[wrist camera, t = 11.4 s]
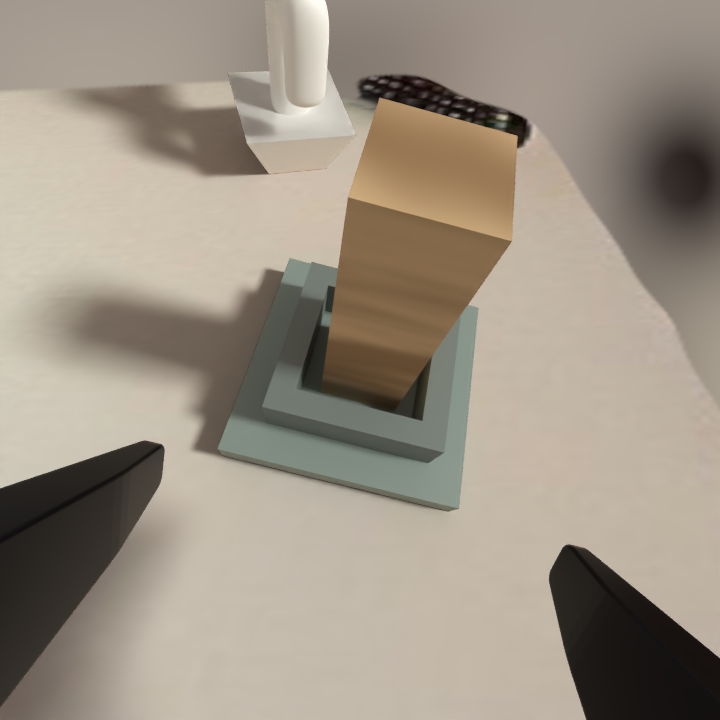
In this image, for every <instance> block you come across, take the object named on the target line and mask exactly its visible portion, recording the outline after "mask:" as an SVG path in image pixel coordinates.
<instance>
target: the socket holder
mask: <svg viewBox="0 0 720 720" xmlns="http://www.w3.org/2000/svg"><path fill="white" fill-rule="evenodd" d="M337 273H338V269H337V268H333V267H329V266H325V265H322V264H318V263H314V262H312V263H311V264H310V263H306V262H302V261H298V260H295V259H291V258H290V259H289V262H288V264H287V267H286V269H285V272H284V275H283V277H282V280H281V283H280V285H279V288H278V291H277V293H276V296H275V298H274V301H273V304H272V306H271V309H270V312H269V314H268V317H267V320H266V322H265V325H264V327H263V330H262V333H261V335H260V338H259V341H258V343H257V346H256V348H255V351H254V354H253V356H252V359H251V362H250V364H249V367H248V370H247V372H246V375H245V377H244V380H243V383H242V385H241V388H240V391H239V393H238V396H237V399H236V401H235V404H234V406H233V409H232V412H231V414H230V417H229V420H228V422H227V425H226V428H225V430H224V433H223V435H222V438H221V441H220V443H219V446H218V450H219V452H220V453H221V454H222V455H223V456H227V457H231V458H235V459H239V460H243V461H247V462H251V463H255V464H259V465H263V466H267V467H271V468H275V469H279V470H283V471H287V472H291V473H296V474H300V475H304V476H308V477H312V478H316V479H320V480H324V481H328V482H332V483H336V484H340V485H344V486H348V487H352V488H356V489H360V490H364V491H368V492H373V493H377V494H381V495H385V496H389V497H393V498H397V499H401V500H405V501H409V502H413V503H417V504H421V505H425V506H429V507H433V508H437V509H441V510H445V511H452V510H456V509H459V503H460V492H461V482H462V472H463V461H464V451H465V441H466V430H467V420H468V409H469V399H470V389H471V378H472V368H473V357H474V347H475V337H476V326H477V316H478V308H476V307H473V306H469V305H467V307H466V308H465V309H464V311H463V312H462V314H461V315H460V317H459V318H458V320H457V321H456V322H455V324H454V325H453V327H452V328H451V330H450V331H449V333H448V334H447V335H446V337H445V338H444V340H443V341H442V343H441V344H440V345H439V347H438V348H437V350H436V351H435V353H434V354H433V356H432V357H431V358H430V360H429V361H428V363H427V364H426V366H425V367H424V369H423V370H422V371H421V373H420V374H419V376H418V377H417V379H416V380H415V381H414V383H413V384H412V386H411V387H410V389H409V390H408V392H407V393H406V394H405V396H404V397H403V399H402V400H401V402H400V403H399V405H398V406H397V407H396V409H395V410H394V411H393V410H389V409H385V408H381V407H377V406H373V405H369V404H365V403H361V402H357V401H353V400H349V399H345V398H341V397H337V396H333V395H329V394H325V393H321V386H322V379H323V372H324V365H325V358H326V351H327V344H328V336H329V329H330V322H331V315H332V308H333V301H334V294H335V287H336V280H337Z"/></svg>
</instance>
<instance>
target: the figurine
mask: <svg viewBox="0 0 720 720" xmlns="http://www.w3.org/2000/svg"><path fill="white" fill-rule="evenodd" d="M265 8H266V25H267V40H268V41H267V42H268V58H269V71H263V72H234V73H228V77H229V81H230V84H231V88H232V91H233V95H234V99H235V102H236V106H237V110H238V113H239V117H240V120H241V124H242V128H243V131H244V135H245V138H246V142H247V144H248V146H249V147H250V149H251V150H252V151H253V153H254V154H255V155H256V157H257V158H258V160H259V161H260V162H261V164H262V165H263V166H264V168H265V169H266V171H267V172H268V173H269V174H276V173H286V172H296V171H307V170H317V169H327V167H328V166H329V165H330V164H331V163H332V162H333V161H334V160H335V159H336V157H337V156H338V155H339V154H340V153H341V152H342V151H343V150H344V149H345V147H346V146H347V145H348V144H349V143H350V142H351V141H352V140H353V139H354V137H355V136H356V133H355V131H354V128H353V126H352V124H351V121H350V119H349V117H348V115H347V112H346V110H345V108H344V105H343V103H342V101H341V98H340V96H339V94H338V91H337V89H336V87H335V84H334V82H333V80H332V77H331V75H330V73H329V71H328V69H327V60H328V45H329V20H328V11H327V6H326V2H325V0H265Z"/></svg>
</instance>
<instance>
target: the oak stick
mask: <svg viewBox="0 0 720 720" xmlns="http://www.w3.org/2000/svg"><path fill="white" fill-rule="evenodd" d="M516 153H517V136H516V135H512V134H508V133H505V132H501V131H498V130H494V129H490V128H487V127H483V126H480V125H476V124H472V123H469V122H465V121H462V120H458V119H454V118H451V117H447V116H444V115H440V114H436V113H433V112H429V111H425V110H422V109H418V108H415V107H411V106H407V105H404V104H400V103H397V102H393V101H389V100H386V99H382V98H380V99H379V102H378V105H377V108H376V112H375V115H374V118H373V121H372V124H371V127H370V130H369V133H368V137H367V140H366V143H365V146H364V149H363V152H362V155H361V159H360V162H359V165H358V168H357V171H356V174H355V177H354V180H353V184H352V187H351V190H350V193H349V196H348V202H347V209H346V216H345V223H344V230H343V237H342V244H341V251H340V258H339V266H338V273H337V280H336V287H335V294H334V301H333V308H332V315H331V322H330V329H329V336H328V344H327V351H326V358H325V365H324V372H323V379H322V386H321V393H325V394H329V395H333V396H337V397H341V398H345V399H349V400H353V401H357V402H361V403H365V404H369V405H373V406H377V407H381V408H385V409H389V410H393V411H394V410H395V409H396V407H397V406H398V405H399V403H400V402H401V400H402V399H403V397H404V396H405V394H406V393H407V392H408V390H409V389H410V387H411V386H412V384H413V383H414V381H415V380H416V379H417V377H418V376H419V374H420V373H421V371H422V370H423V369H424V367H425V366H426V364H427V363H428V361H429V360H430V358H431V357H432V356H433V354H434V353H435V351H436V350H437V348H438V347H439V345H440V344H441V343H442V341H443V340H444V338H445V337H446V335H447V334H448V333H449V331H450V330H451V328H452V327H453V325H454V324H455V322H456V321H457V320H458V318H459V317H460V315H461V314H462V312H463V311H464V309H465V308H466V307H467V305H468V304H469V302H470V301H471V299H472V298H473V297H474V295H475V294H476V292H477V291H478V289H479V288H480V286H481V285H482V284H483V282H484V281H485V279H486V278H487V276H488V275H489V273H490V272H491V271H492V269H493V268H494V266H495V265H496V263H497V262H498V260H499V259H500V258H501V256H502V255H503V253H504V252H505V250H506V249H507V248H508V246H509V245H510V243H511V242H512V229H513V210H514V191H515V172H516Z"/></svg>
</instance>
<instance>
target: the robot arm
mask: <svg viewBox="0 0 720 720" xmlns="http://www.w3.org/2000/svg"><path fill="white" fill-rule="evenodd" d="M164 451H165V450H164V447H163V445H162V444H158V443H154V442H150V441H141V442H138V443H135V444H132V445H129V446H126V447H123V448H120V449H117V450H114V451H111V452H108V453H105V454H102V455H99V456H96V457H93V458H90V459H87V460H84V461H81V462H78V463H75V464H72V465H69V466H66V467H63V468H60V469H57V470H54V471H51V472H48V473H45V474H42V475H39V476H36V477H33V478H30V479H27V480H24V481H21V482H18V483H15V484H12V485H9V486H6V487H3V488H0V707H1V706H2V705H3V703H4V702H5V701H6V699H7V698H8V697H9V695H10V694H11V693H12V691H13V690H14V689H15V688H16V686H17V685H18V684H19V682H20V681H21V680H22V678H23V677H24V676H25V674H26V673H27V672H28V670H29V669H30V668H31V667H32V665H33V664H34V663H35V661H36V660H37V659H38V657H39V656H40V655H41V653H42V652H43V651H44V649H45V648H46V647H47V646H48V644H49V643H50V642H51V640H52V639H53V638H54V636H55V635H56V634H57V632H58V631H59V630H60V628H61V627H62V626H63V625H64V623H65V622H66V621H67V619H68V618H69V617H70V615H71V614H72V613H73V611H74V610H75V609H76V607H77V606H78V605H79V604H80V602H81V601H82V600H83V598H84V597H85V596H86V594H87V593H88V592H89V590H90V589H91V588H92V586H93V585H94V584H95V583H96V581H97V580H98V579H99V577H100V576H101V575H102V573H103V572H104V571H105V569H106V568H107V567H108V565H109V564H110V563H111V561H112V560H113V559H114V557H115V556H116V555H117V553H118V552H119V550H120V549H121V547H122V546H123V544H124V542H125V541H126V539H127V538H128V536H129V534H130V533H131V531H132V529H133V528H134V526H135V525H136V523H137V521H138V520H139V518H140V516H141V515H142V513H143V511H144V510H145V508H146V507H147V505H148V503H149V502H150V500H151V498H152V497H153V495H154V493H155V492H156V490H157V489H158V487H159V485H160V482H161V479H162V471H163V462H164ZM549 583H550V588H551V592H552V597H553V601H554V606H555V610H556V614H557V619H558V623H559V628H560V632H561V636H562V641H563V645H564V649H565V653H566V657H567V660H568V664H569V667H570V670H571V674H572V677H573V680H574V683H575V686H576V689H577V692H578V695H579V698H580V702H581V705H582V708H583V711H584V714H585V717H586V720H720V658H719V657H718V656H716V655H715V654H714V653H713V652H712V651H710V650H709V649H708V648H707V647H705V646H704V645H703V644H702V643H701V642H699V641H698V640H697V639H696V638H695V637H693V636H692V635H691V634H690V633H688V632H687V631H686V630H685V629H684V628H682V627H681V626H680V625H679V624H677V623H676V622H675V621H674V620H673V619H671V618H670V617H669V616H668V615H667V614H665V613H664V612H663V611H662V610H660V609H659V608H658V607H657V606H656V605H654V604H653V603H652V602H651V601H649V600H648V599H647V598H646V597H645V596H643V595H642V594H641V593H640V592H639V591H637V590H636V589H635V588H634V587H632V586H631V585H630V584H629V583H628V582H626V581H625V580H624V579H623V578H621V577H620V576H619V575H618V574H617V573H615V572H614V571H613V570H612V569H611V568H609V567H608V566H607V565H606V564H604V563H603V562H602V561H601V560H600V559H598V558H597V557H596V556H595V555H593V554H592V553H591V552H590V551H589V550H587V549H585V548H582V547H578V546H574V545H570V544H569V545H565V546H564V547H563V548H562V550H561V552H560V554H559V556H558V557H557V559H556V561H555V563H554V565H553V567H552V569H551V571H550V574H549Z"/></svg>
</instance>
